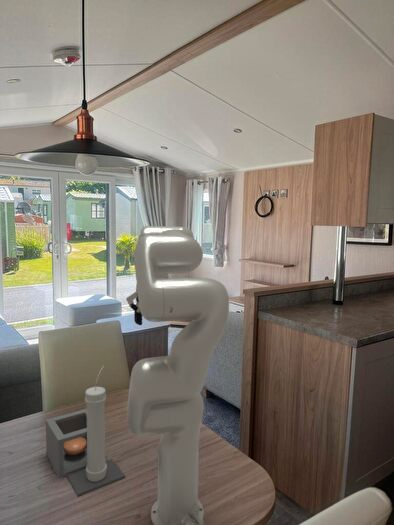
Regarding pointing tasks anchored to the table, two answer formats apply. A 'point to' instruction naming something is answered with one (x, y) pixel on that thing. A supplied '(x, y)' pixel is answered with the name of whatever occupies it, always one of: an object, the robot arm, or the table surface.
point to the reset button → (75, 446)
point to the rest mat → (85, 486)
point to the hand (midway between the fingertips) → (152, 321)
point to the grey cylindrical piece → (95, 433)
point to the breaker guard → (61, 432)
